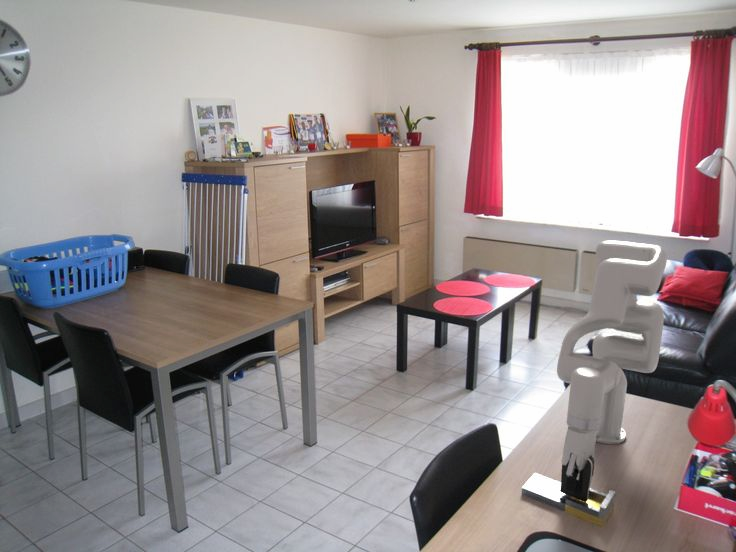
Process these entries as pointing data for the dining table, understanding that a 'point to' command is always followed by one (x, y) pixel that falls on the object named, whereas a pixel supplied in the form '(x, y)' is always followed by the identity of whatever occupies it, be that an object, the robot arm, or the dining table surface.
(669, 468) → the dining table surface
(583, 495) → the battery charger
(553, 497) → the grey and yellow block
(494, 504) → the dining table surface
